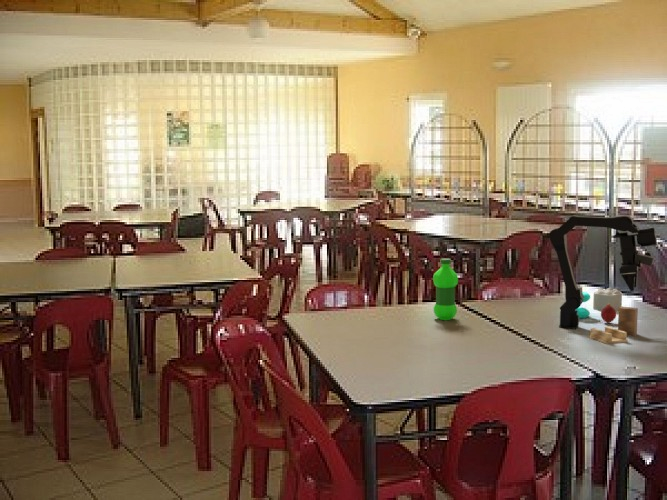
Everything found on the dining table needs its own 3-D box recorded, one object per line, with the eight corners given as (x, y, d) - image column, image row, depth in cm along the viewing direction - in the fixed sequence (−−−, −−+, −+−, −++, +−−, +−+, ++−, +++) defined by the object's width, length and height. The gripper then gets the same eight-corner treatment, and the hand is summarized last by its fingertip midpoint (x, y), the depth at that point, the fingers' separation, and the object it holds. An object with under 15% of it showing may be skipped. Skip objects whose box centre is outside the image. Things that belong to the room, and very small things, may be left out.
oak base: (589, 337, 294) (589, 328, 294) (609, 335, 297) (609, 326, 297) (607, 343, 285) (607, 334, 284) (627, 341, 288) (627, 332, 287)
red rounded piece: (616, 325, 315) (617, 305, 314) (601, 324, 316) (602, 304, 315) (614, 321, 320) (615, 302, 319) (599, 321, 322) (600, 302, 321)
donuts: (562, 290, 335) (586, 290, 335) (561, 314, 337) (585, 314, 336) (568, 295, 325) (593, 295, 325) (568, 319, 327) (592, 319, 326)
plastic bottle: (456, 316, 334) (457, 257, 331) (458, 321, 323) (458, 261, 320) (432, 316, 335) (433, 257, 332) (433, 321, 324) (433, 260, 321)
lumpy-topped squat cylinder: (590, 309, 347) (590, 289, 346) (604, 304, 356) (605, 285, 354) (612, 312, 339) (613, 292, 338) (626, 308, 348) (627, 288, 347)
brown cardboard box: (617, 333, 300) (618, 307, 299) (620, 332, 303) (621, 306, 301) (634, 336, 296) (635, 309, 295) (636, 334, 299) (637, 308, 298)
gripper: (649, 248, 288) (654, 291, 289) (652, 243, 305) (657, 283, 305) (616, 251, 293) (622, 293, 294) (622, 246, 310) (627, 286, 310)
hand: (633, 289), depth 301 cm, fingers open, 9 cm apart
